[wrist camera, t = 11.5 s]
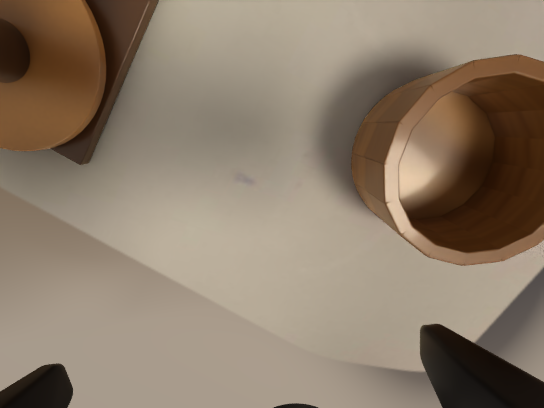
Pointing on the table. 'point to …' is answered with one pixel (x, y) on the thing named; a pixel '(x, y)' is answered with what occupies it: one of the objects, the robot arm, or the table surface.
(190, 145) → the table surface
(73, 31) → the lid
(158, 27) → the table surface
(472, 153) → the wooden bowl
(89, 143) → the board
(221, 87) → the table surface
